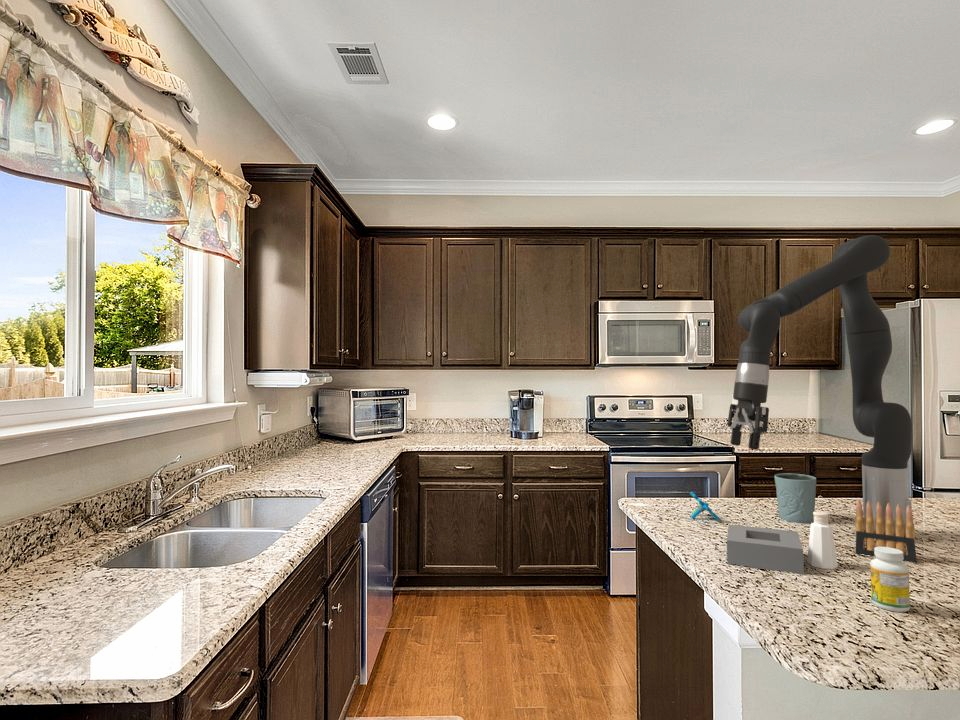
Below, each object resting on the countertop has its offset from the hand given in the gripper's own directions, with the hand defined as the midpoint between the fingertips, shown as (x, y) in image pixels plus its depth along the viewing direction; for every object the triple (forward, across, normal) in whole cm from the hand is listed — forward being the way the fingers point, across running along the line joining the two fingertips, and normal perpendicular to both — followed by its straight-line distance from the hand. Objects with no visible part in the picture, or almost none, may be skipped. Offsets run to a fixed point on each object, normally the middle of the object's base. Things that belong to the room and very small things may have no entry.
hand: (743, 447), depth 134 cm
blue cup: (+19, +16, -26) cm, 36 cm away
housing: (+23, -15, +1) cm, 28 cm away
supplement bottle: (+22, -40, -7) cm, 46 cm away
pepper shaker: (+22, -20, -9) cm, 31 cm away
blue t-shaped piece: (+23, +19, -1) cm, 29 cm away
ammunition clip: (+19, -16, -26) cm, 36 cm away
